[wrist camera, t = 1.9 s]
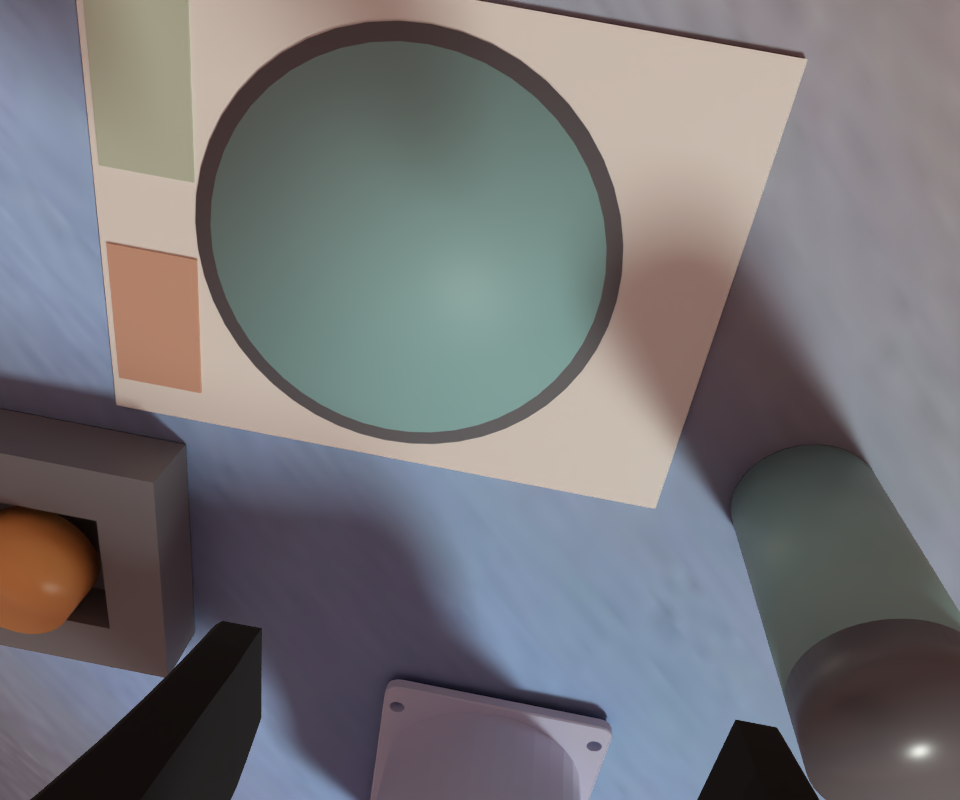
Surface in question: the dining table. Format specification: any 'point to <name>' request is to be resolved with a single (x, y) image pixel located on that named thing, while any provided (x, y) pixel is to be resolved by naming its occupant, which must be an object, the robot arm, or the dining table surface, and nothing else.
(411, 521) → the dining table surface
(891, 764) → the green capped cylinder
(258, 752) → the dining table surface
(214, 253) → the picture sheet
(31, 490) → the button housing
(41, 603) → the button
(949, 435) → the dining table surface
